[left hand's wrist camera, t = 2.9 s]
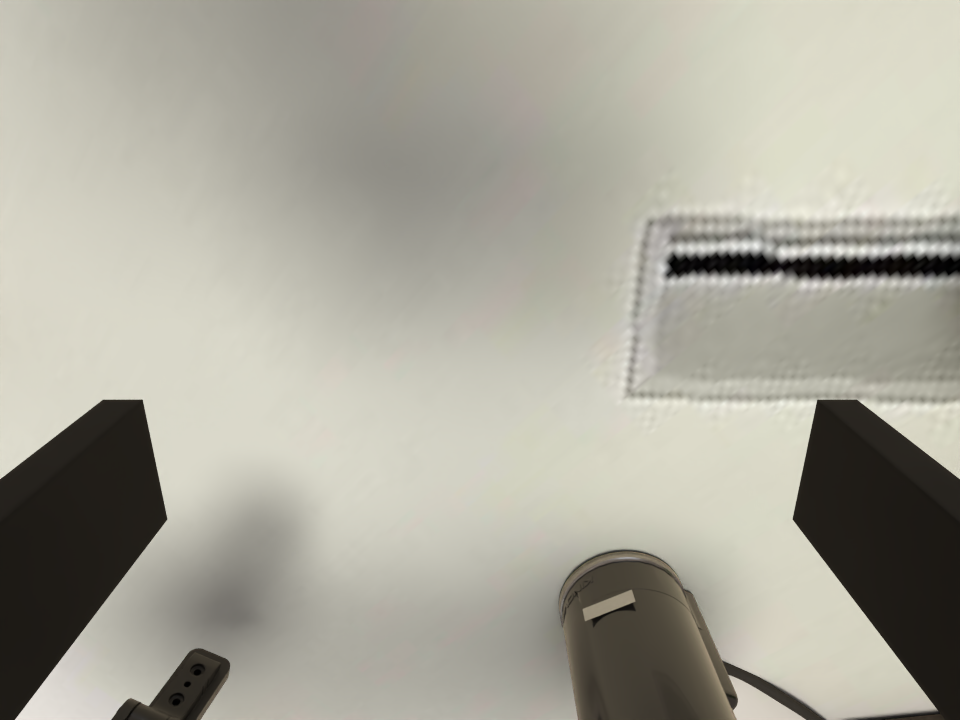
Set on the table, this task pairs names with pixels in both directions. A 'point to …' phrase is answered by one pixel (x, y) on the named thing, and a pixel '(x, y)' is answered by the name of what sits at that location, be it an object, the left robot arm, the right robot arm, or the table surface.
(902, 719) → the toy
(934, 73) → the table surface
